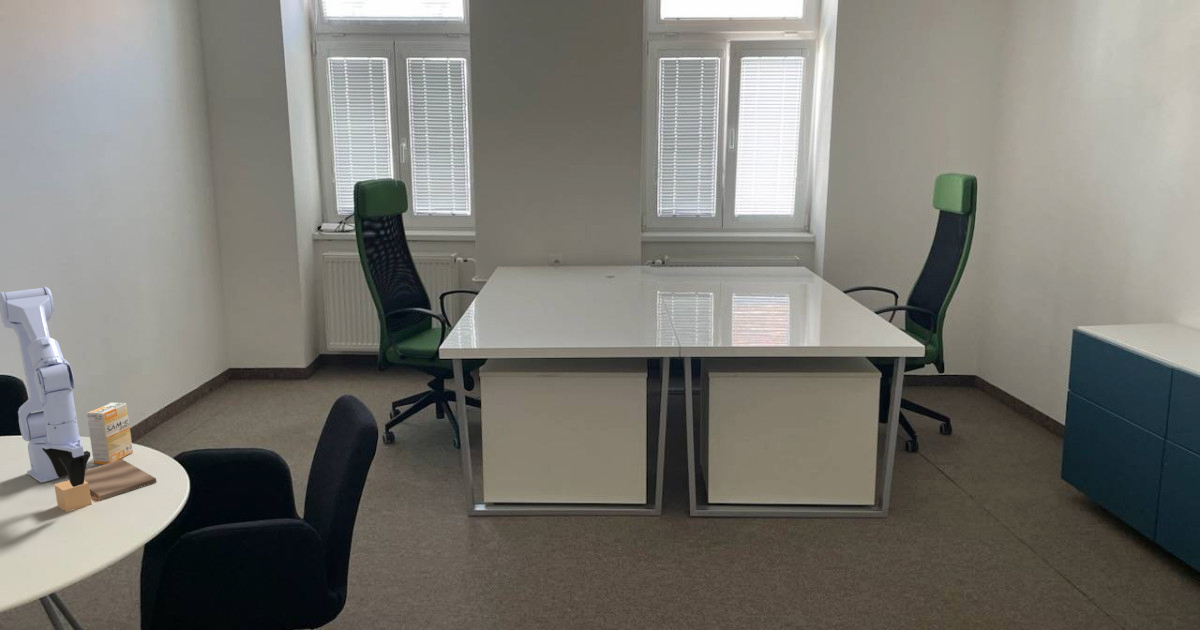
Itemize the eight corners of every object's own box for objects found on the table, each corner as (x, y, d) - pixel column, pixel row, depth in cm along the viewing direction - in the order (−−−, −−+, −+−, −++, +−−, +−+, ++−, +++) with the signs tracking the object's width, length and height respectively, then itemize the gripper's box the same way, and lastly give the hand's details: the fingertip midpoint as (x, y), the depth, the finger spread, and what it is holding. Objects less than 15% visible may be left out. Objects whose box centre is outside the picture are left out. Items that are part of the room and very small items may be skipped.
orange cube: (57, 506, 193) (54, 484, 192) (82, 498, 197) (79, 477, 196) (66, 512, 190) (63, 490, 189) (91, 504, 194) (88, 482, 193)
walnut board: (68, 479, 207) (68, 475, 207) (122, 463, 216) (122, 459, 216) (100, 500, 195) (99, 495, 195) (156, 482, 204) (155, 478, 204)
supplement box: (110, 465, 215) (102, 413, 212) (93, 464, 215) (85, 412, 212) (134, 452, 222) (127, 402, 219) (117, 451, 223) (110, 401, 220)
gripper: (27, 418, 191) (37, 477, 194) (53, 433, 181) (63, 495, 185) (63, 409, 196) (73, 467, 199) (90, 423, 187) (99, 484, 190)
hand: (70, 480), depth 192 cm, fingers open, 7 cm apart
